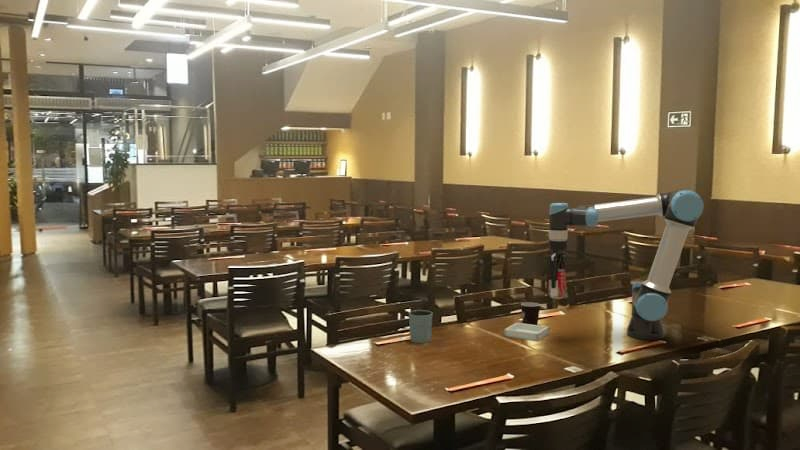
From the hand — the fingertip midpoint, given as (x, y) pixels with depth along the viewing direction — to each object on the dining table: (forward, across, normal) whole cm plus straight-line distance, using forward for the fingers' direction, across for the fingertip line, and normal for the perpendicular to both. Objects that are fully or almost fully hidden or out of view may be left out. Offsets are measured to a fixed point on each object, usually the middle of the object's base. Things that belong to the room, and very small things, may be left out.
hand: (557, 293), depth 273 cm
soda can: (+2, 0, 0) cm, 2 cm away
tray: (+19, +1, -13) cm, 23 cm away
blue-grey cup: (+20, +32, -48) cm, 61 cm away
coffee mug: (+19, -16, -18) cm, 31 cm away
